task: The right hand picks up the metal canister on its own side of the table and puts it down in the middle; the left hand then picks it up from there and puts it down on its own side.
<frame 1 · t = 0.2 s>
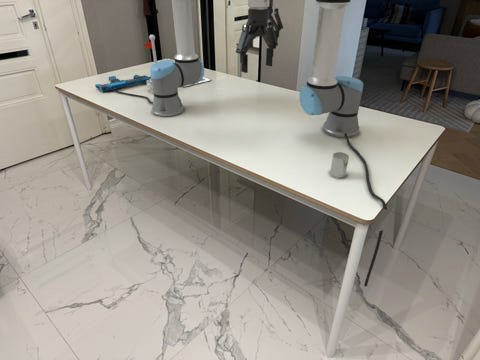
left hand: (257, 68, 132), 28 cm above the table, tool pointing down, fingers open, 13 cm apart
right hand: (263, 45, 167), 28 cm above the table, tool pointing down, fingers open, 13 cm apart
tablet: (183, 78, 216), on the table
submachine gun: (124, 83, 207), on the table
canister: (337, 173, 120), on the table
flag stand: (159, 90, 196), on the table
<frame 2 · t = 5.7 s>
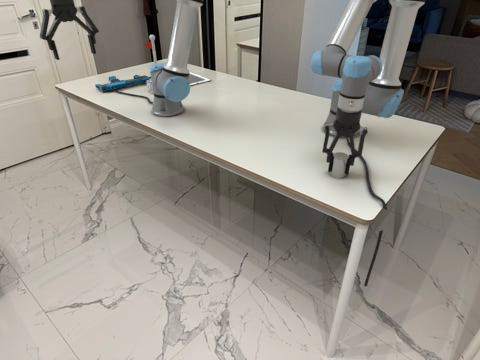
left hand: (76, 56, 128), 33 cm above the table, tool pointing down, fingers open, 13 cm apart
right hand: (338, 171, 119), 1 cm above the table, tool pointing down, fingers closed on canister, 5 cm apart
canister: (337, 173, 120), on the table, touching right hand
everything else where it was.
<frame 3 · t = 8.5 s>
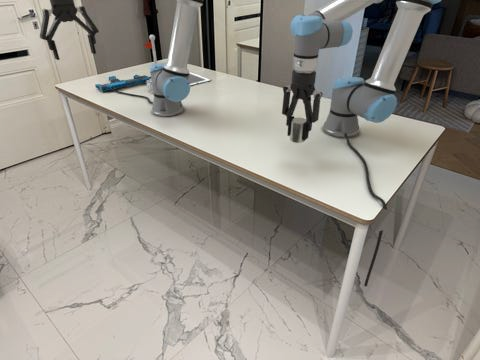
left hand: (76, 56, 128), 33 cm above the table, tool pointing down, fingers open, 13 cm apart
right hand: (297, 136, 120), 11 cm above the table, tool pointing down, fingers closed on canister, 5 cm apart
canister: (297, 139, 120), point 10 cm above the table, touching right hand
everything else where it was.
when the right hand's fingers open (3 cm above the table, at t = 11.6 s): canister drops 1 cm, on the table.
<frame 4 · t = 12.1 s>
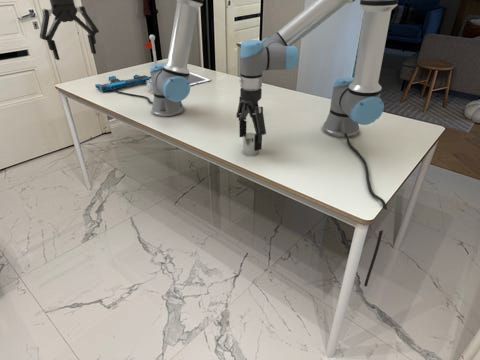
left hand: (76, 56, 128), 33 cm above the table, tool pointing down, fingers open, 13 cm apart
right hand: (250, 142, 131), 4 cm above the table, tool pointing down, fingers open, 12 cm apart
canister: (250, 152, 133), on the table
everything else where it was.
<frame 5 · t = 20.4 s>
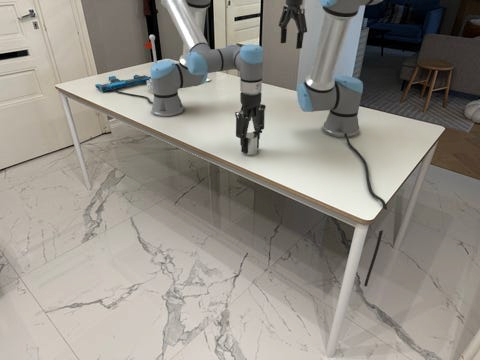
left hand: (250, 149, 133), 1 cm above the table, tool pointing down, fingers closed on canister, 5 cm apart
right hand: (290, 45, 161), 29 cm above the table, tool pointing down, fingers open, 13 cm apart
canister: (250, 152, 133), on the table, touching left hand
everything else where it was.
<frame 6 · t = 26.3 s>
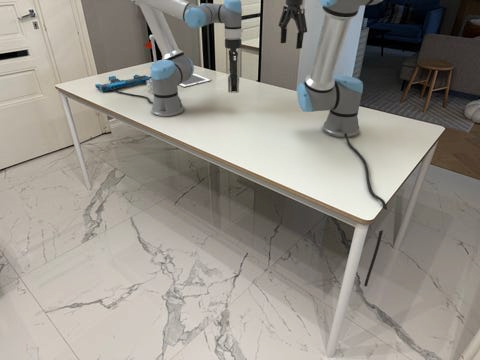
left hand: (233, 89, 165), 11 cm above the table, tool pointing down, fingers closed on canister, 5 cm apart
right hand: (290, 45, 161), 29 cm above the table, tool pointing down, fingers open, 13 cm apart
canister: (233, 91, 165), point 10 cm above the table, touching left hand
everything else where it was.
when the left hand's fingers open (3 cm above the table, at t = 32.1 s): canister drops 1 cm, on the table.
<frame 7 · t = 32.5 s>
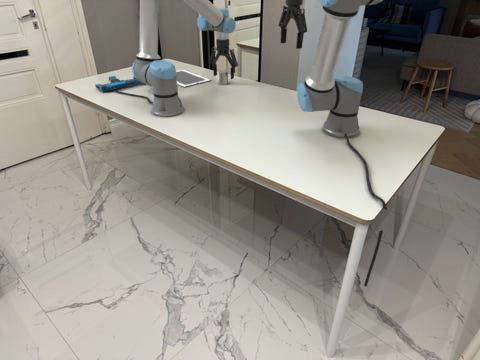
left hand: (223, 77, 205), 4 cm above the table, tool pointing down, fingers open, 11 cm apart
right hand: (290, 45, 161), 29 cm above the table, tool pointing down, fingers open, 13 cm apart
canister: (223, 83, 207), on the table
everything else where it was.
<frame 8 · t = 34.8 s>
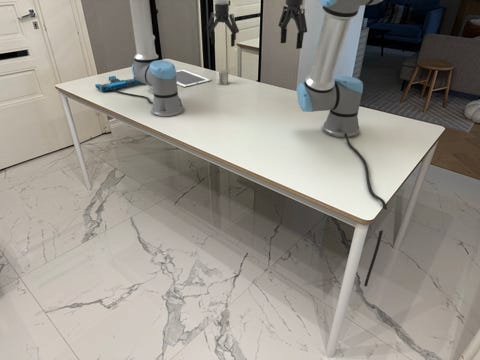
left hand: (222, 44, 195), 22 cm above the table, tool pointing down, fingers open, 13 cm apart
right hand: (290, 45, 161), 29 cm above the table, tool pointing down, fingers open, 13 cm apart
nothing on the table moved.
at the end: canister inside the target area (0.1 cm from its centre), on the table; canister tilted 0°; the two hands never held the canister at the same time; the left hand is holding nothing; the right hand is holding nothing; canister at rest at the end (0.0 cm/s) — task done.
